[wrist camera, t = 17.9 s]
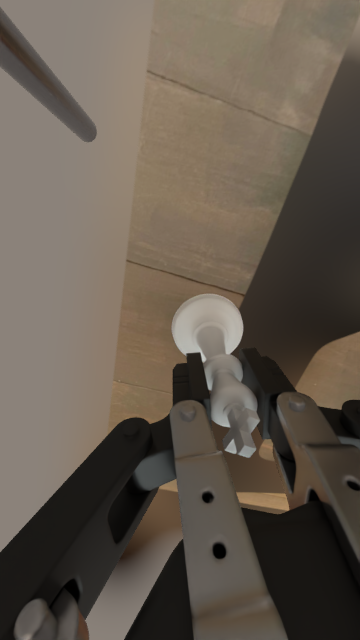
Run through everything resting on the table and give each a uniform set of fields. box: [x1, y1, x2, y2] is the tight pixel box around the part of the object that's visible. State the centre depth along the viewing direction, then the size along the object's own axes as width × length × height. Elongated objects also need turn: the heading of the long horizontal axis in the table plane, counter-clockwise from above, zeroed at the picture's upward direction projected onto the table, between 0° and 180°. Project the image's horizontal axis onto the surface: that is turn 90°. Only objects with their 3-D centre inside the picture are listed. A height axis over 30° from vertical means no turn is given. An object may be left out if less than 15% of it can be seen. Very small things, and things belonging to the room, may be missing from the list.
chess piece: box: [172, 294, 260, 458], centre depth 13 cm, size 5×5×10 cm
